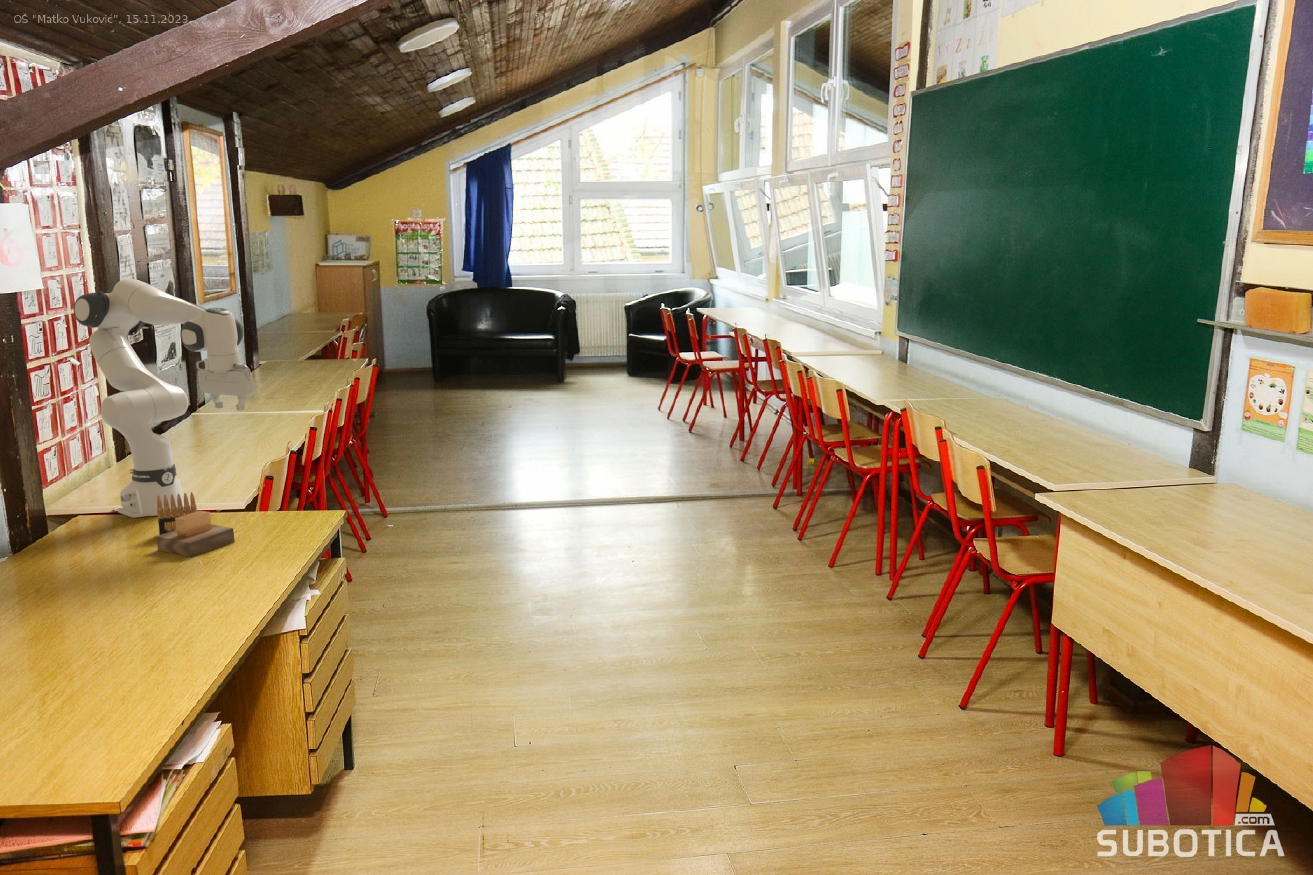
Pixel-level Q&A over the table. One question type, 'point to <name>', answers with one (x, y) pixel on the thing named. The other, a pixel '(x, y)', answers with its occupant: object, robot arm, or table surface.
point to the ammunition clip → (173, 511)
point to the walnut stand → (195, 541)
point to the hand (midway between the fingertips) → (229, 409)
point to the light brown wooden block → (193, 523)
